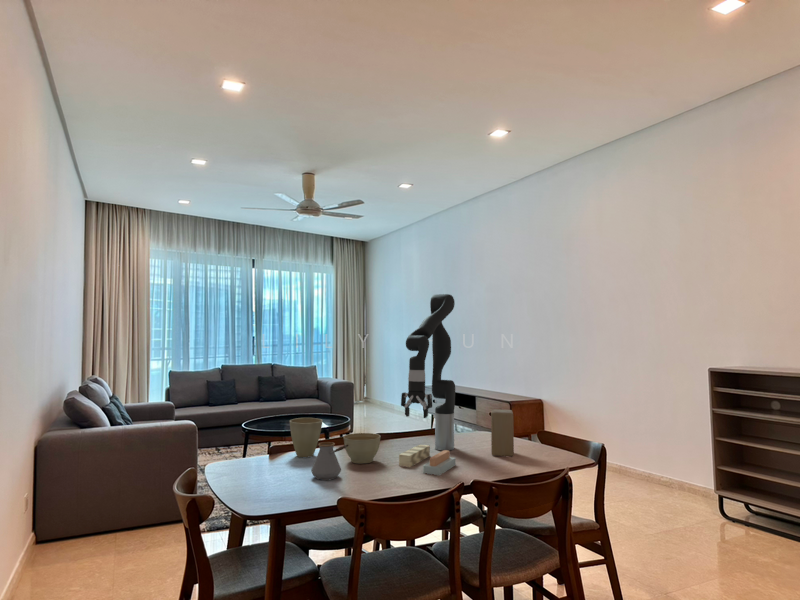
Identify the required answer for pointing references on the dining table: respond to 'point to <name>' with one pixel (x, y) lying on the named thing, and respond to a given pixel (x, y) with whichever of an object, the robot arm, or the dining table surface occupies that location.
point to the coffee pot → (327, 462)
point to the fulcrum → (439, 463)
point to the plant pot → (305, 435)
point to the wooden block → (502, 433)
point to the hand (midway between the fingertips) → (416, 417)
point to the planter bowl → (362, 446)
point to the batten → (414, 455)
